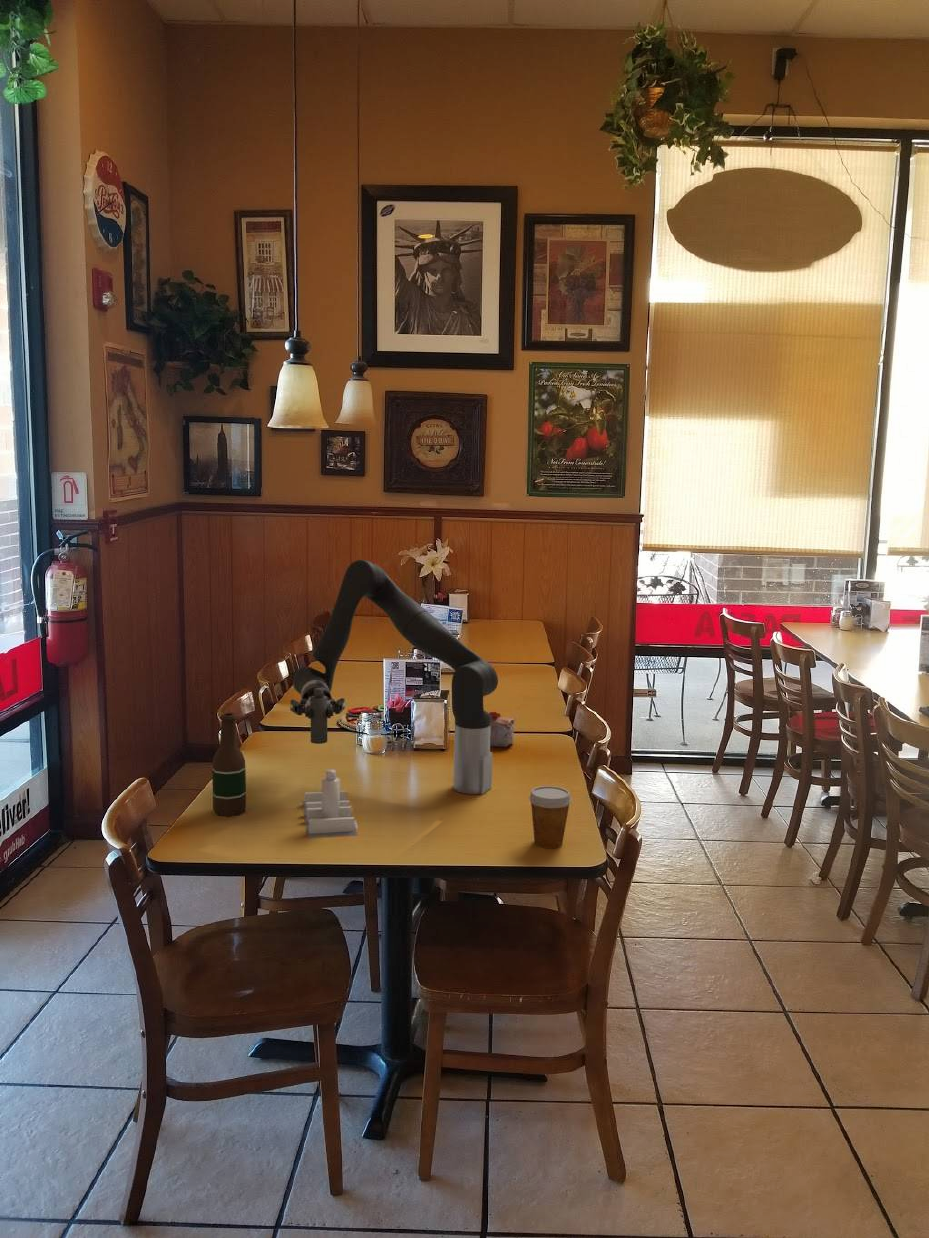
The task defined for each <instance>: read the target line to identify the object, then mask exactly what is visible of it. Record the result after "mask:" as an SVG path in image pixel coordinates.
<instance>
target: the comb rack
mask: <svg viewBox="0 0 929 1238" xmlns="http://www.w3.org/2000/svg"><path fill="white" fill-rule="evenodd" d="M301 801H302V809H303V815H304V822H305V829H306V836H307V839H316V838H335V837H353V836H355V837H356V836H358V833H357V830H358V829H359V826H358V823H357V820H355V816H353V813H352V812H354V808H353V805H352V803H351V802H350V799H348V791H347V790H340V804H339V818H323V819H322V791H306V792H304V800H301ZM350 803H351V804H350Z"/></svg>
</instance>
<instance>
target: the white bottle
mask: <svg viewBox="0 0 929 1238" xmlns="http://www.w3.org/2000/svg"><path fill="white" fill-rule="evenodd" d="M340 787H341V779H340V778H339V777H337V770H336V769H332V768H331V769H326V770H325V777H323V778H322V779H321V792H322V819H323V818H339V804H340V791H341V789H340Z"/></svg>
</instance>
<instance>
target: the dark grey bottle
mask: <svg viewBox="0 0 929 1238" xmlns="http://www.w3.org/2000/svg"><path fill="white" fill-rule="evenodd" d="M310 704H311V719H310V743H311V744H316V745H317V744H318V745H321V744H322V745H323V744H326V743H328V717H327V696H323V688H315V689H314V696H311V697H310Z"/></svg>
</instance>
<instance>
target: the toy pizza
mask: <svg viewBox="0 0 929 1238" xmlns="http://www.w3.org/2000/svg"><path fill="white" fill-rule="evenodd" d="M383 709H384V704H381V705H375V706H372V707H369V706H357V707H354V708H353V707H352V708H348V709H347V712H346V713H344V714H342V715H341V716H340V717H341V718H340V717H339V718H338V719H339V720H337V722H341V723H340V725H341V726H340V725H339V726H340V727H342V728H343V727H344V728H343V729H345V728H346V729H345V730H347V729H348V730H347V731H351V732H353V733H356V732H355V731H356V730H355V729H356V723H357V719H358V718H359V716H360V714H361V712H365V711H372V710H376V711H377V712H383ZM342 724H343V725H342ZM344 725H345V726H347V727H345V726H344ZM348 727H349V728H348Z"/></svg>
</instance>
